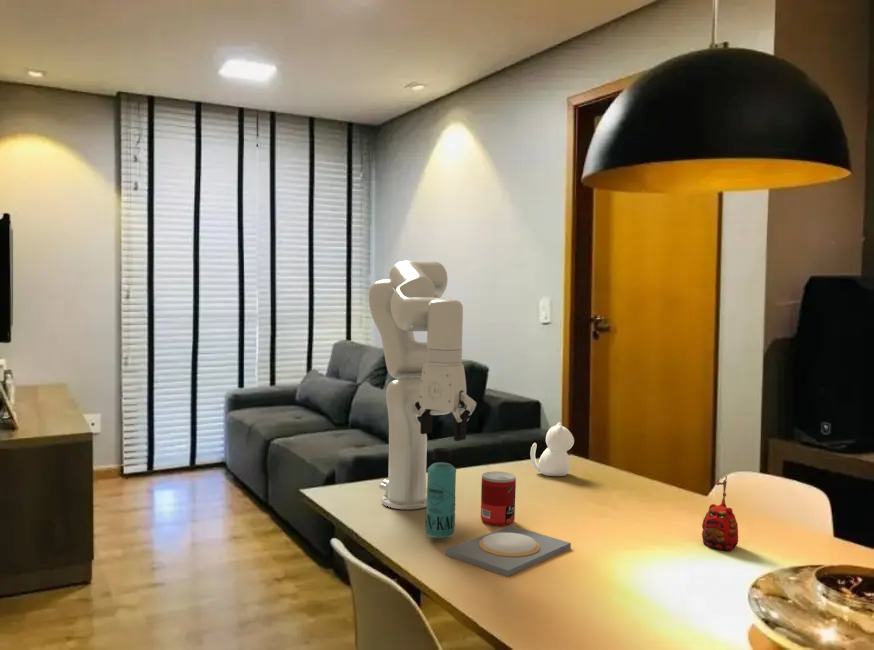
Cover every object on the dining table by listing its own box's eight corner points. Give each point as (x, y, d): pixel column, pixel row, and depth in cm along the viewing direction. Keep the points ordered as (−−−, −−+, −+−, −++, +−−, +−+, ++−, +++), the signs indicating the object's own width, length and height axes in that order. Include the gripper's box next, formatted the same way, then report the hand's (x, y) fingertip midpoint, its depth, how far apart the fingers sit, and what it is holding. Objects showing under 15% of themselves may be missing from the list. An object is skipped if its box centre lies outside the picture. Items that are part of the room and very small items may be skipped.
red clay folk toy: (696, 545, 168) (699, 477, 167) (709, 538, 173) (712, 472, 172) (731, 554, 163) (735, 484, 162) (743, 546, 168) (746, 478, 167)
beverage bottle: (427, 533, 172) (429, 444, 170) (456, 535, 171) (459, 446, 169) (422, 543, 165) (424, 451, 164) (453, 545, 164) (455, 453, 163)
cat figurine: (573, 479, 221) (575, 427, 220) (529, 477, 222) (531, 425, 221) (571, 471, 230) (573, 421, 229) (529, 469, 231) (531, 419, 230)
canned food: (512, 528, 177) (514, 480, 176) (478, 525, 178) (479, 478, 178) (516, 518, 184) (517, 472, 184) (482, 515, 186) (484, 470, 185)
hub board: (445, 554, 159) (445, 544, 159) (510, 530, 175) (510, 520, 175) (507, 576, 148) (508, 565, 148) (570, 548, 164) (571, 538, 164)
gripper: (403, 355, 168) (401, 433, 169) (463, 361, 157) (462, 445, 158) (426, 353, 174) (425, 428, 175) (486, 359, 162) (485, 440, 163)
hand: (442, 436), depth 166 cm, fingers open, 9 cm apart
